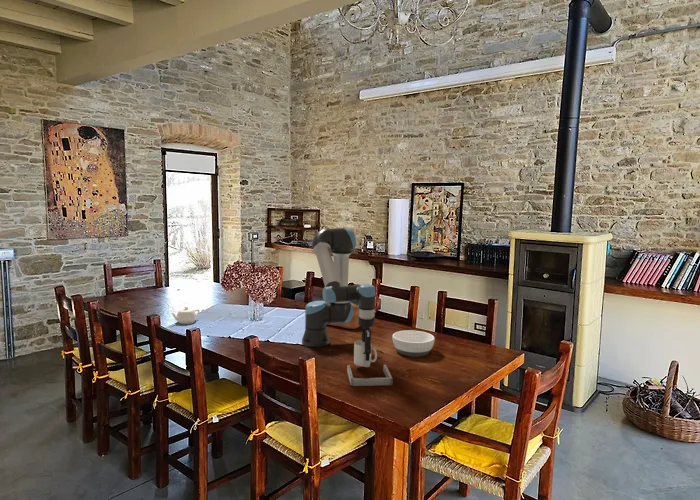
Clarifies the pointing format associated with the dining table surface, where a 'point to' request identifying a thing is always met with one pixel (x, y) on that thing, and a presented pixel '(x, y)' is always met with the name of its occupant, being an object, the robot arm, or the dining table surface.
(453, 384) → the dining table surface
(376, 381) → the bracket
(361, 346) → the cup
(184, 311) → the teapot
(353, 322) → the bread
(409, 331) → the bowl
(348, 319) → the robot arm
